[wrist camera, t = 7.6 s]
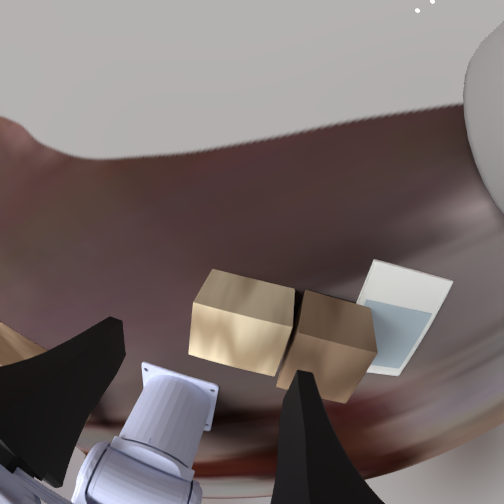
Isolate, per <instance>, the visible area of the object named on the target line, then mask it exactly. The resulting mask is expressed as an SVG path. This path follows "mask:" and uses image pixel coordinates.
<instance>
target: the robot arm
mask: <svg viewBox="0 0 504 504" xmlns="http://www.w3.org/2000/svg"><path fill="white" fill-rule="evenodd" d="M125 355H126V353H125V344H124V334H123V323H122V321H121V320H119V319H116V318H113V317H111V316H110V317H108V318H106V319H104V320H103V321H101V322H99V323H98V324H96V325H94V326H93V327H91V328H89V329H87V330H86V331H84V332H82V333H81V334H79V335H77V336H75V337H74V338H72V339H70V340H68V341H66V342H64V343H62V344H60V345H58V346H56V347H55V348H53V349H51V350H48V351H46V352H44V353H42V354H39V355H37V356H34V357H31V358H29V359H26V360H22V361H19V362H16V363H12V364H9V365H5V366H0V504H41V501H40V499H41V500H42V501H44V502H46V503H47V504H201V500H202V489H201V487H200V485H199V482H198V481H195V480H192V479H193V476H194V472H195V471H194V470H192V469H191V468H192V465H193V461H194V458H195V455H196V452H197V449H198V446H199V443H200V440H201V437H202V434H203V430H205V431H210V429H211V425H212V420H213V415H214V410H215V405H216V400H217V395H218V390H219V386H218V385H217V384H214V383H211V382H207V381H204V380H200V379H197V378H193V377H190V376H187V375H183V374H180V373H177V372H174V371H171V370H168V369H165V368H162V367H159V366H156V365H153V364H150V363H147V362H143V363H142V374H143V384H144V389H143V391H142V393H141V395H140V397H139V399H138V401H137V402H136V404H135V406H134V408H133V410H132V412H131V414H130V416H129V418H128V419H127V421H126V423H125V425H124V427H123V429H122V431H121V433H120V435H119V437H117V436H115V437H114V439H113V441H112V442H111V443H109V442H107V441H102V442H99V443H96V444H95V445H94V446H93V447H92V449H91V450H90V452H89V453H88V455H87V457H86V459H85V461H84V462H83V465H82V467H81V469H80V472H79V475H78V477H77V481H76V489H75V491H74V494H73V497H72V499H71V501H72V502H70V501H68V500H67V499H65V498H63V497H61V496H60V495H58V494H57V493H55V492H53V491H52V490H50V489H48V488H47V487H46V486H44V485H43V484H41V483H39V482H38V481H37V480H35V479H34V477H36V478H37V479H39V480H40V481H42V480H44V481H45V482H47V483H48V484H50V485H51V486H53V487H54V488H59V487H62V485H63V481H64V478H65V474H66V471H67V468H68V464H69V462H70V459H71V456H72V453H73V451H74V448H75V446H76V443H77V441H78V438H79V436H80V434H81V432H82V430H83V427H84V425H85V423H86V421H87V419H88V417H89V415H90V414H91V412H92V410H93V409H94V407H95V406H96V404H97V403H98V401H99V400H100V398H101V397H102V395H103V394H104V392H105V391H106V389H107V388H108V386H109V385H110V383H111V382H112V380H113V379H114V377H115V375H116V374H117V372H118V370H119V368H120V366H121V364H122V362H123V360H124V358H125ZM145 368H147V369H148V370H146V369H145ZM211 389H214V390H215V391H212V390H211ZM206 424H208V425H206ZM271 504H385V503H384V502H383V501H382V500H380V498H379V497H378V496H377V495H376V494H375V493H374V492H373V491H372V489H371V488H370V487H369V486H368V484H367V483H366V482H365V480H364V479H363V478H362V476H361V475H360V474H359V472H358V471H357V470H356V468H355V467H354V465H353V464H352V462H351V460H350V459H349V457H348V456H347V454H346V452H345V450H344V449H343V447H342V445H341V443H340V441H339V439H338V437H337V435H336V433H335V431H334V429H333V427H332V424H331V422H330V420H329V417H328V415H327V412H326V410H325V407H324V405H323V402H322V399H321V396H320V393H319V390H318V387H317V384H316V381H315V377H314V374H313V373H312V372H308V371H302V370H297V371H296V373H295V375H294V378H293V380H292V382H291V384H290V386H289V389H288V391H287V393H286V395H285V397H284V399H283V404H282V410H281V416H280V422H279V439H278V457H277V471H276V479H275V484H274V489H273V494H272V499H271Z"/></svg>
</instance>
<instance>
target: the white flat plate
mask: <svg viewBox="0 0 504 504" xmlns="http://www.w3.org/2000/svg"><path fill="white" fill-rule="evenodd" d="M452 283H453V281H452V280H450V279H446V278H443V277H439V276H435V275H432V274H428V273H425V272H421V271H417V270H414V269H410V268H406V267H403V266H399V265H395V264H392V263H388V262H384V261H380V260H376V259H374V260H373V262H372V265H371V268H370V270H369V273H368V275H367V278H366V280H365V283H364V285H363V287H362V290H361V292H360V295H359V297H358V299H357V302H356V304H358V305H362V306H366V307H369V308H371V314H372V320H373V326H374V332H375V338H376V345H377V352H378V353H377V355H376V357H375V358H374V360H373V362H372V363H371V365H370V367H369V368H368V370H367V371H366V372H370V373H378V374H385V375H393V376H399V375H400V373H401V372H402V370H403V369H404V367H405V366H406V364H407V363H408V361H409V360H410V358H411V357H412V355H413V353H414V352H415V350H416V349H417V347H418V345H419V344H420V342H421V341H422V339H423V337H424V336H425V334H426V332H427V330H428V329H429V327H430V325H431V323H432V322H433V320H434V318H435V316H436V315H437V313H438V311H439V309H440V307H441V305H442V303H443V301H444V299H445V298H446V296H447V294H448V292H449V290H450V288H451V286H452Z"/></svg>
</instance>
